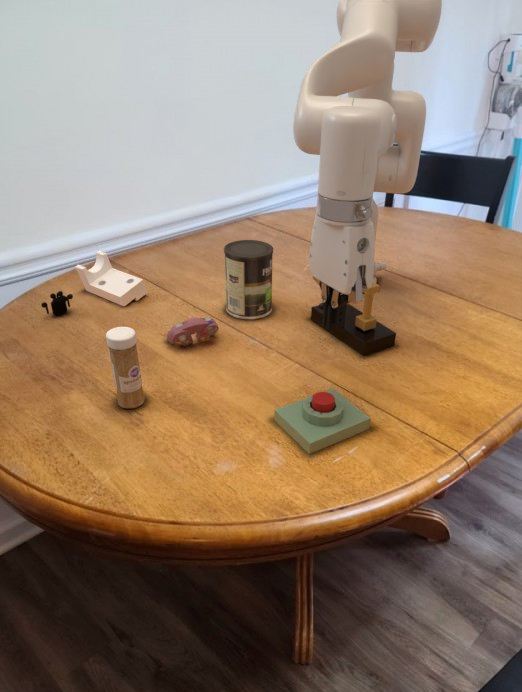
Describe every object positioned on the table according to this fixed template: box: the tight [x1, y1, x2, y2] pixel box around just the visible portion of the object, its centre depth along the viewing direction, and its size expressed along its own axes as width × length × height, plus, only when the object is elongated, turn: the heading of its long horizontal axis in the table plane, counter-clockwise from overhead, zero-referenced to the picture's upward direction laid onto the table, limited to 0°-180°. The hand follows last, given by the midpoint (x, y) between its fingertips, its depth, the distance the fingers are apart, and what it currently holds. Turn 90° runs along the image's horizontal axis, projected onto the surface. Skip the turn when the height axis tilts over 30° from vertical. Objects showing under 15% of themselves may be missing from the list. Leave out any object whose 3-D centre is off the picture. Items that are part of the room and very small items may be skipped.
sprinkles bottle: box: [105, 326, 146, 410], centre depth 92 cm, size 5×5×14 cm
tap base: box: [310, 301, 397, 357], centre depth 115 cm, size 13×18×9 cm
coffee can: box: [223, 239, 274, 320], centre depth 121 cm, size 10×10×14 cm
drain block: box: [273, 388, 372, 455], centre depth 91 cm, size 12×10×4 cm
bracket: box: [75, 249, 149, 307], centre depth 128 cm, size 13×7×8 cm, turn 54°
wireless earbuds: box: [41, 290, 74, 316], centre depth 120 cm, size 7×2×5 cm, turn 136°
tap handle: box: [355, 282, 381, 331], centre depth 111 cm, size 3×3×9 cm
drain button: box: [312, 391, 335, 413], centre depth 90 cm, size 4×4×2 cm
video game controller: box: [166, 316, 219, 346], centre depth 111 cm, size 10×5×7 cm, turn 118°
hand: (333, 326), depth 88 cm, fingers closed
